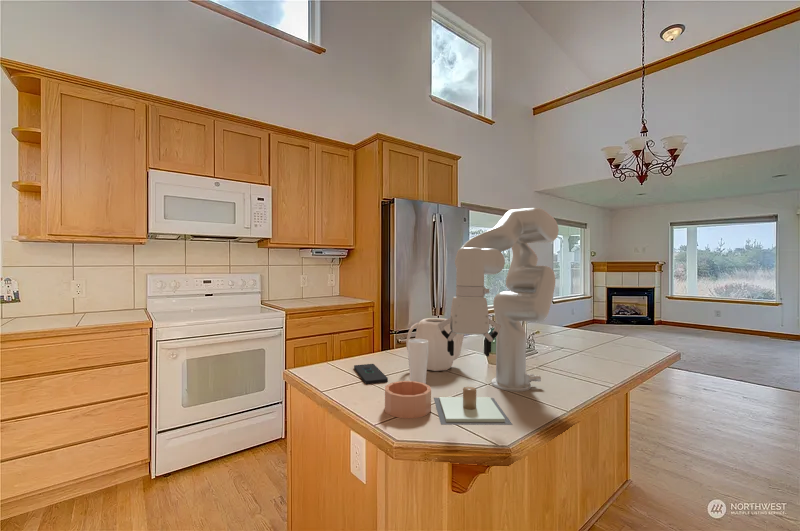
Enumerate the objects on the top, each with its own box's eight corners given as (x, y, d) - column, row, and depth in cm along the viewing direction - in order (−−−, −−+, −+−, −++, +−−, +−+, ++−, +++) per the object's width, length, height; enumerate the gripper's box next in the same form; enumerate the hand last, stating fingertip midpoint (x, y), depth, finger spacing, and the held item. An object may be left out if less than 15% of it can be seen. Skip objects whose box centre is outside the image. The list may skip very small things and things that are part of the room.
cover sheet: (489, 399, 106) (489, 380, 106) (504, 421, 91) (505, 399, 91) (439, 399, 106) (439, 380, 106) (446, 421, 91) (446, 399, 91)
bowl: (428, 401, 106) (428, 380, 106) (432, 419, 93) (432, 396, 93) (385, 401, 106) (385, 380, 106) (384, 419, 93) (384, 396, 93)
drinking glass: (426, 389, 116) (427, 343, 116) (406, 388, 117) (406, 342, 117) (429, 383, 122) (429, 339, 122) (409, 381, 124) (410, 338, 124)
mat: (493, 399, 108) (493, 397, 108) (512, 426, 90) (512, 424, 90) (433, 399, 108) (433, 397, 108) (440, 426, 90) (440, 424, 90)
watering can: (479, 370, 137) (479, 321, 137) (412, 375, 130) (412, 323, 130) (462, 360, 152) (462, 315, 152) (401, 364, 145) (401, 317, 145)
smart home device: (373, 363, 142) (388, 378, 123) (373, 367, 142) (388, 383, 123) (353, 364, 139) (365, 380, 121) (353, 369, 139) (365, 385, 121)
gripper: (497, 292, 102) (496, 352, 102) (437, 291, 102) (436, 351, 102) (505, 294, 95) (504, 358, 95) (440, 292, 95) (439, 357, 94)
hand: (468, 355), depth 98 cm, fingers open, 9 cm apart
